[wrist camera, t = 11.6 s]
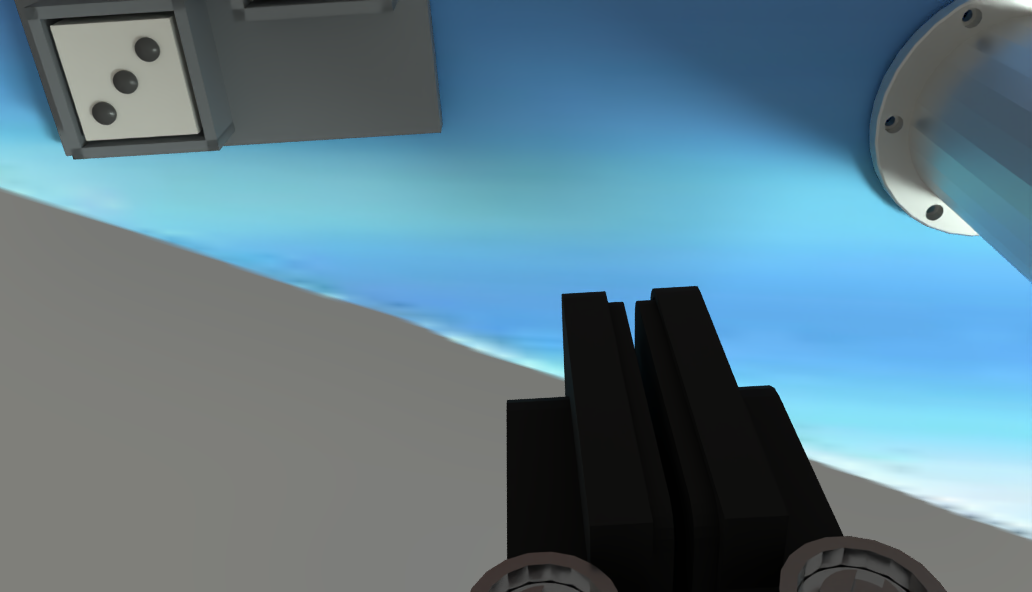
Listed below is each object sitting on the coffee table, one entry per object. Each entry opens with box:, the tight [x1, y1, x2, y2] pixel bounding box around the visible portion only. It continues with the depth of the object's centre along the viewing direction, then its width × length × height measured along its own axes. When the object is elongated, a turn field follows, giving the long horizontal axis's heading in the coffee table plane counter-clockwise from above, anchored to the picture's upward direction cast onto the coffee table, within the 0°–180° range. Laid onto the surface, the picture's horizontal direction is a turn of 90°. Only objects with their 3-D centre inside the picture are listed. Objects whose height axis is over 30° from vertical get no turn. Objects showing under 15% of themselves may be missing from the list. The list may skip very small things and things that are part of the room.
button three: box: [50, 11, 203, 141], centre depth 38 cm, size 5×5×2 cm
